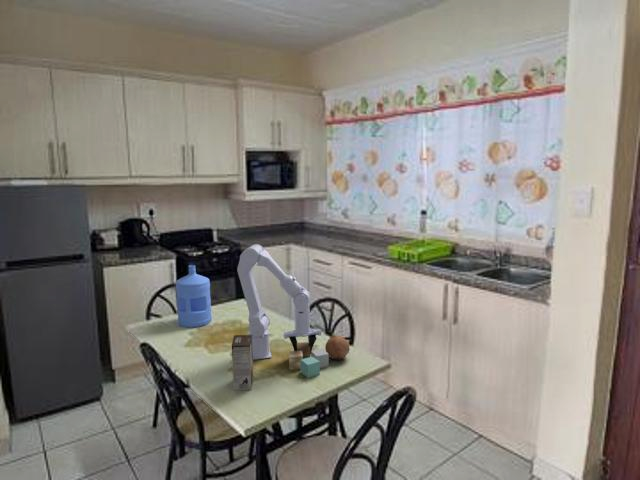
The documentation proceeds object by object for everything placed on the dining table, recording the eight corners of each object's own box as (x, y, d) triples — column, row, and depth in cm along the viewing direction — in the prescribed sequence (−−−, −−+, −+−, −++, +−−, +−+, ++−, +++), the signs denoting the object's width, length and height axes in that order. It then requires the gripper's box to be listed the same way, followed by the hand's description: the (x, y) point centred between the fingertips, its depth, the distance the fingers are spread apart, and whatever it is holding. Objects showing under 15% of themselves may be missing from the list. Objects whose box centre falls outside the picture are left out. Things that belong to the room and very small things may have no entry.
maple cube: (289, 369, 162) (289, 356, 161) (289, 363, 167) (288, 351, 166) (302, 369, 163) (302, 356, 162) (302, 363, 167) (302, 350, 167)
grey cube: (316, 368, 163) (316, 356, 162) (311, 363, 167) (311, 351, 166) (328, 366, 165) (328, 353, 164) (323, 361, 169) (323, 348, 168)
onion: (330, 362, 175) (324, 337, 177) (353, 356, 174) (346, 331, 176) (327, 364, 165) (320, 337, 168) (351, 357, 165) (344, 331, 167)
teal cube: (308, 378, 156) (307, 364, 155) (300, 372, 160) (300, 359, 159) (319, 374, 158) (319, 361, 157) (312, 369, 162) (312, 356, 162)
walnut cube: (297, 360, 169) (297, 348, 169) (295, 355, 174) (295, 343, 173) (310, 359, 171) (310, 347, 170) (307, 353, 175) (307, 342, 175)
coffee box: (235, 377, 156) (233, 334, 153) (253, 377, 156) (252, 334, 154) (232, 390, 147) (230, 345, 144) (252, 389, 147) (250, 344, 145)
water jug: (186, 316, 220) (183, 261, 216) (216, 317, 218) (214, 262, 213) (172, 327, 205) (168, 269, 200) (204, 329, 203) (201, 270, 198)
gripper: (285, 325, 164) (286, 359, 167) (323, 322, 168) (323, 356, 170) (282, 319, 171) (283, 352, 173) (318, 316, 174) (319, 348, 177)
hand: (302, 353), depth 172 cm, fingers closed on walnut cube, 5 cm apart
